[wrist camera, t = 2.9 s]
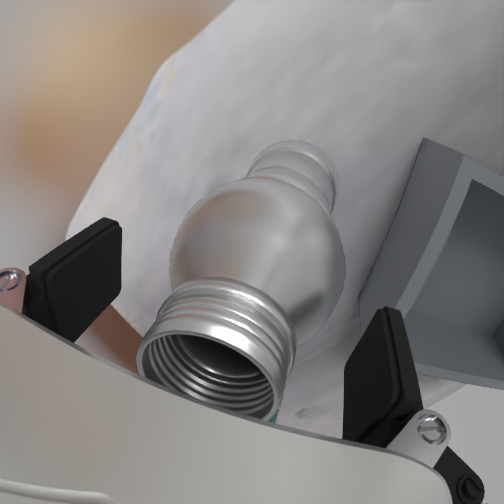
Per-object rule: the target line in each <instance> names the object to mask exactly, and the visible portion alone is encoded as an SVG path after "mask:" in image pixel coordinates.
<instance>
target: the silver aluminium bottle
mask: <svg viewBox="0 0 504 504" xmlns="http://www.w3.org/2000/svg"><path fill="white" fill-rule="evenodd" d="M337 195H338V177H337V174H336V171H335V168H334V166H333V164H332V163H331V161H330V160H329V158H328V157H327V156H326V155H325V154H324V153H323V152H322V151H321V150H319V149H318V148H317V147H315V146H313V145H311V144H309V143H306V142H302V141H294V140H288V141H282V142H278V143H276V144H273V145H271V146H269V147H268V148H266V149H265V150H263V151H262V152H261V153H260V154H259V155H258V156H257V158H256V159H255V161H254V162H253V163H252V165H251V168H250V170H249V172H248V174H247V177H246V178H244V179H241V180H237V181H234V182H232V183H229V184H227V185H224V186H221V187H220V188H218V189H216V190H215V191H213V192H211V193H210V194H208V195H207V196H205V197H204V198H202V199H201V200H199V201H198V202H197V203H196V204H195V205H194V206H193V207H192V208H191V209H190V211H189V212H188V213H187V214H186V216H185V218H184V219H183V221H182V223H181V225H180V226H179V229H178V232H177V234H176V237H175V240H174V243H173V247H172V250H171V253H170V263H169V271H170V279H171V287H172V293H171V294H170V295H169V297H168V298H167V299H166V301H165V302H164V303H163V305H162V307H161V308H160V310H159V312H158V315H157V319H156V321H155V322H154V324H153V325H152V326H151V328H150V329H149V331H148V332H147V333H146V335H145V336H144V338H143V340H142V341H141V344H140V347H139V348H138V352H137V356H136V361H137V368H138V372H139V374H140V376H142V377H144V378H147V379H149V380H151V381H154V382H156V383H159V384H161V385H163V386H166V387H168V388H171V389H173V390H176V391H178V392H181V393H184V394H186V395H189V396H191V397H194V398H197V399H200V400H202V401H205V402H208V403H211V404H214V405H217V406H220V407H223V408H226V409H229V410H232V411H235V412H238V413H241V414H244V415H248V416H251V417H254V418H258V419H261V420H265V421H269V420H270V419H271V418H272V417H273V416H274V415H275V413H276V411H277V409H278V407H279V405H280V403H281V401H282V397H283V392H284V388H285V383H286V379H287V376H288V375H289V374H290V371H291V369H292V367H293V364H294V359H295V353H296V347H297V346H299V345H300V344H302V343H303V342H305V341H306V340H308V339H309V338H310V337H312V336H313V335H314V334H315V333H316V332H317V331H319V330H320V329H321V328H322V326H323V325H324V324H325V322H326V321H327V320H328V318H329V317H330V315H331V313H332V312H333V310H334V308H335V306H336V304H337V302H338V299H339V297H340V295H341V292H342V290H343V285H344V280H345V256H344V252H343V247H342V243H341V240H340V236H339V232H338V230H337V228H336V226H335V224H334V222H333V219H332V217H331V215H330V214H331V212H332V210H333V208H334V205H335V202H336V199H337Z"/></svg>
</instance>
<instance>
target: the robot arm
mask: <svg viewBox="0 0 504 504" xmlns="http://www.w3.org/2000/svg"><path fill="white" fill-rule="evenodd" d="M121 253H122V228H121V227H120V226H119V223H118V222H117V221H115V220H112V219H109V218H105V217H104V218H101V219H100V220H98V221H97V222H95V223H93V224H92V225H90V226H89V227H87V228H85V229H84V230H82V231H81V232H79V233H78V234H76V235H75V236H73V237H71V238H70V239H68V240H67V241H65V242H64V243H62V244H61V245H60V246H58V247H56V248H55V249H54V250H52V251H51V252H49V253H48V254H46V255H45V256H43V257H42V258H41V259H39V260H38V261H36V262H35V263H33V264H32V265H31V266H29V271H30V274H28V275H27V276H26V274H25V273H24V271H22V270H21V269H18V268H5V269H2V270H0V504H482V501H483V498H484V492H485V491H484V485H483V483H482V480H481V479H480V478H479V476H478V475H477V474H476V473H475V472H474V471H473V470H472V469H471V468H470V467H469V466H468V465H467V464H466V463H465V462H464V461H463V460H461V458H460V457H458V456H457V455H456V454H455V453H454V452H453V451H452V450H451V449H450V448H449V447H448V446H447V445H448V443H449V440H450V438H451V431H450V427H449V425H448V423H447V421H446V420H445V419H444V418H443V417H442V416H441V415H440V414H438V413H437V412H435V411H432V410H427V409H424V410H423V404H422V399H421V394H420V389H419V384H418V379H417V374H416V370H415V365H414V361H413V357H412V352H411V348H410V344H409V340H408V336H407V332H406V329H405V325H404V321H403V317H402V314H401V311H400V310H397V309H394V308H390V307H387V306H385V307H383V308H382V309H378V310H377V311H376V312H375V314H374V316H373V318H372V320H371V322H370V323H369V325H368V327H367V329H366V330H365V332H364V334H363V336H362V337H361V339H360V341H359V342H358V344H357V346H356V347H355V349H354V351H353V352H352V354H351V356H350V357H349V359H348V361H347V362H346V365H345V369H344V410H343V436H342V439H338V438H334V437H329V436H324V435H320V434H316V433H312V432H307V431H303V430H299V429H295V428H291V427H287V426H283V425H279V424H275V423H272V422H268V421H265V420H261V419H258V418H254V417H251V416H248V415H244V414H241V413H238V412H235V411H232V410H229V409H226V408H223V407H220V406H217V405H214V404H211V403H208V402H205V401H202V400H200V399H197V398H194V397H191V396H189V395H186V394H184V393H181V392H178V391H176V390H173V389H171V388H168V387H166V386H163V385H161V384H159V383H156V382H154V381H151V380H149V379H147V378H144V377H142V376H140V375H138V374H135V373H133V372H131V371H129V370H127V369H124V368H122V367H120V366H118V365H116V364H114V363H112V362H110V361H108V360H106V359H103V358H101V357H99V356H97V355H95V354H93V353H91V352H89V351H88V350H86V349H84V348H82V347H80V346H78V345H76V344H74V342H75V341H76V340H77V339H78V338H79V337H80V336H81V334H82V333H83V332H84V331H85V330H86V329H87V328H88V327H89V326H90V325H91V324H92V323H93V321H94V320H95V319H96V318H97V317H98V316H99V315H100V314H101V313H102V312H103V311H104V310H105V309H106V308H107V307H108V305H109V304H110V303H111V302H112V301H113V300H114V299H115V298H116V297H117V296H118V295H119V293H120V291H121ZM486 504H487V503H486Z"/></svg>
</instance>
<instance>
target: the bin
mask: <svg viewBox="0 0 504 504" xmlns="http://www.w3.org/2000/svg"><path fill="white" fill-rule="evenodd" d="M358 300H359V312H360V325H361V337H362V336H363V334H364V332H365V330H366V329H367V327H368V325H369V323H370V322H371V320H372V318H373V316H374V314H375V312H376V311H377V310H378V309H382V308H383V307H385V306H387V307H390V308H394V309H397V310H400V311H401V314H402V317H403V321H404V325H405V329H406V332H407V336H408V340H409V344H410V348H411V352H412V357H413V361H414V365H415V370H416V373H418V374H422V375H427V376H431V377H436V378H441V379H446V380H451V381H456V382H461V383H466V384H472V385H477V386H483V387H489V388H495V389H501V390H504V177H503V176H501V175H500V174H498V173H496V172H494V171H493V170H491V169H489V168H487V167H486V166H484V165H482V164H480V163H478V162H477V161H475V160H473V159H471V158H469V157H467V156H465V155H463V154H461V153H459V152H457V151H454V150H452V149H450V148H448V147H445V146H443V145H441V144H438V143H436V142H434V141H431V140H429V139H426V138H423V141H422V144H421V147H420V150H419V153H418V156H417V159H416V162H415V165H414V167H413V170H412V173H411V176H410V178H409V181H408V184H407V187H406V189H405V192H404V194H403V197H402V200H401V202H400V205H399V207H398V210H397V212H396V215H395V217H394V220H393V222H392V224H391V227H390V229H389V232H388V234H387V236H386V239H385V241H384V243H383V245H382V248H381V250H380V252H379V254H378V257H377V259H376V261H375V263H374V265H373V268H372V270H371V272H370V274H369V276H368V278H367V280H366V282H365V284H364V287H363V289H362V291H361V293H360V295H359V297H358Z"/></svg>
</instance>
